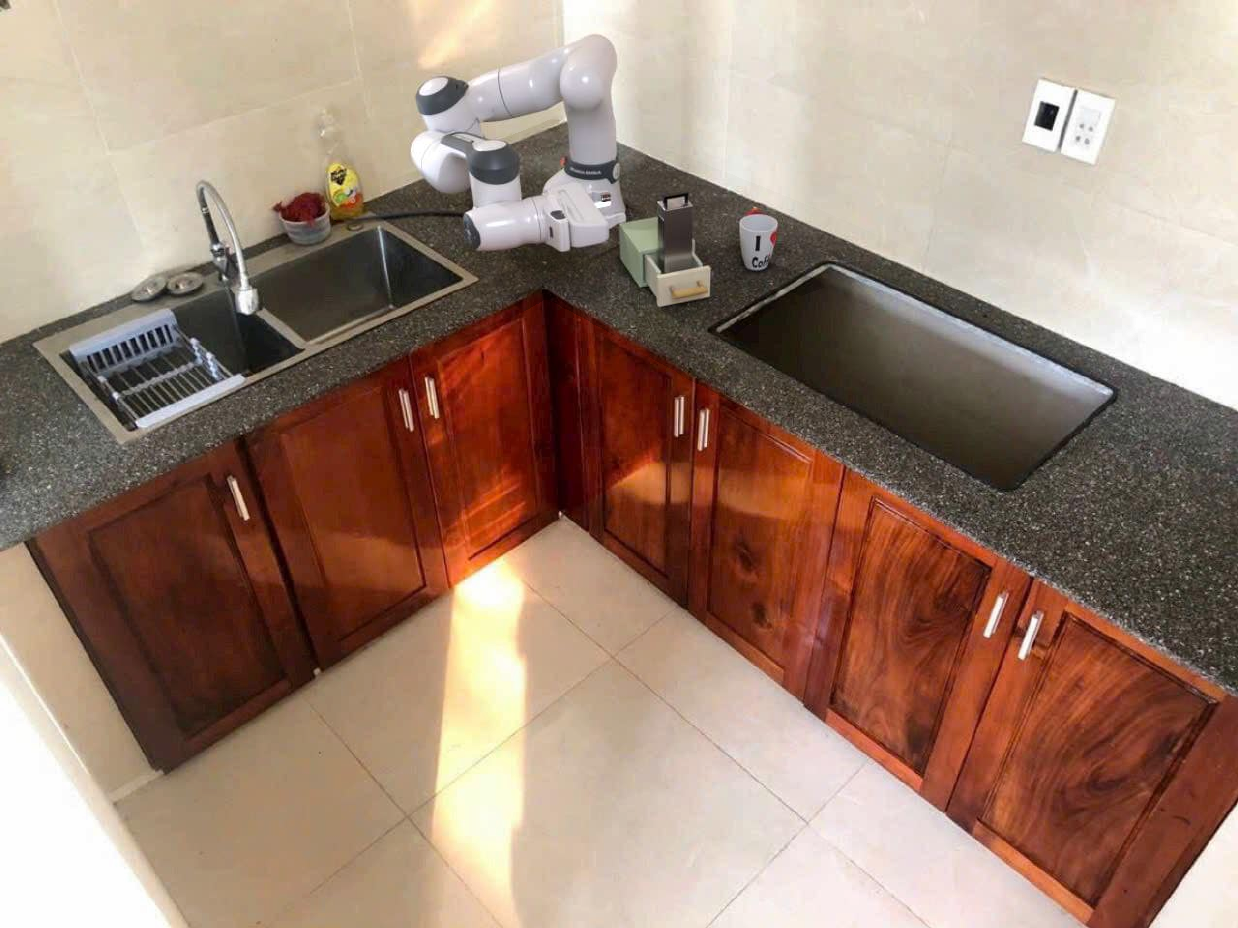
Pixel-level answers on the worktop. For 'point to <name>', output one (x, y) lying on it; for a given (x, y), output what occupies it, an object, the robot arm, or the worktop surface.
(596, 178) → the robot arm
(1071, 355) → the worktop surface
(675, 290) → the drawer
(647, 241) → the cabinet
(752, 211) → the onion
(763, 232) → the cup
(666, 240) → the grater
